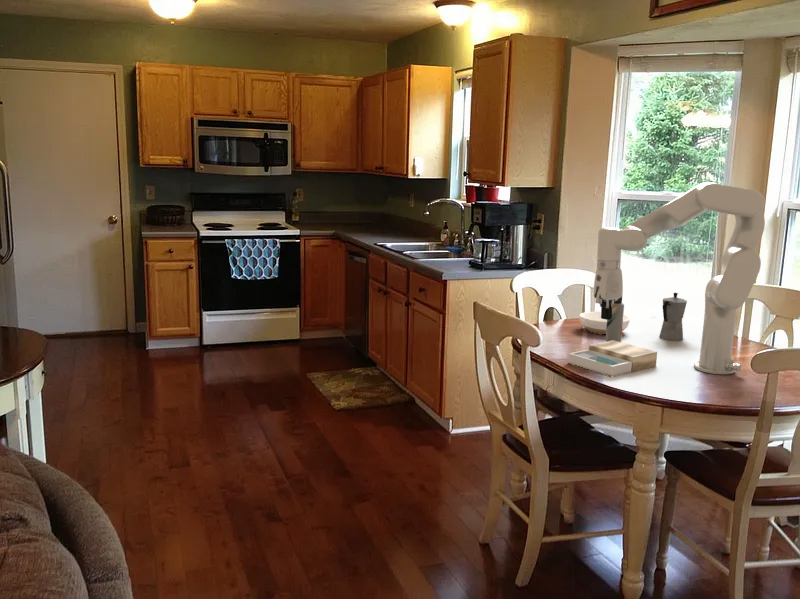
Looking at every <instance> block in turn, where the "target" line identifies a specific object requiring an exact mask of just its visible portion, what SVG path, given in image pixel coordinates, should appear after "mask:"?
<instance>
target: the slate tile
mask: <svg viewBox="0 0 800 599" xmlns="http://www.w3.org/2000/svg"><path fill="white" fill-rule="evenodd" d="M576 355H578V356H582V357H585V358H589V359H592V360H595V356H592V355H589V354H585V353H581V354H576Z"/></svg>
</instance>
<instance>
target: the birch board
mask: <svg viewBox="0 0 800 599" xmlns="http://www.w3.org/2000/svg"><path fill="white" fill-rule="evenodd" d="M588 350H592V351H595V352H599V353H602V354H606V355H610V356H613V357H617V358H620V359H624V360H627V361H631V362H632V368H631V372H630V373H633V372H637V371H642V370H646V369H649V368H654V367H656V366H657V358H658V351H655V350H652V349H648V348H644V347H640V346H636V345H632V344H630V343H629V344H628V343H625V342H622V341H621V342H618V341H614V340H612V341H607V342H605V341H602V342H599V343H593V344H589V347H588Z"/></svg>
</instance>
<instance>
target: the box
mask: <svg viewBox="0 0 800 599" xmlns="http://www.w3.org/2000/svg"><path fill="white" fill-rule="evenodd" d="M581 353H585V354H589V355H592V356H595V360H592V359H589V358H585V357H582V356H578V355H576V354H581ZM597 356H600V357H603V358H607V359H610V360H612V361H614V362H616V363H618V364H616V365H609V364H606V363H602V362H599V361H596V358H597ZM568 363H570V364H569V365H571V364H574V365H573V366H575V365H577V366H576V367H578V366H580V367H579V368H581V367H583V368H582V369H584V368H586V369H585V370H587V369H589V370H588V371H591V370H593V371H592V372H594V371H596V372H595V373H597V372H599V373H598V374H600V373H602V374H601V375H604V374H605V375H604V376H607V375H608V377H610V376H611V377H610V378H613V377H612V376H614V377H617V376H616V375H618V376H622V375H624V374H625V373H626V374H630V373H632V372H631V368H632V362H631V361H627V360H624V359H620V358H617V357H613V356H610V355H606V354H602V353H599V352H595V351H592V350H589V349H583V350H579V351H573V352H569V353H568V358H567V364H568ZM621 374H622V375H621Z"/></svg>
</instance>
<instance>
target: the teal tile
mask: <svg viewBox="0 0 800 599" xmlns="http://www.w3.org/2000/svg"><path fill="white" fill-rule="evenodd" d="M596 361H599V362H602V363H606V364H609V365H616V364H618V363H616V362H614V361H612V360H610V359H607V358H603V357H600V356H597V358H596Z"/></svg>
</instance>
